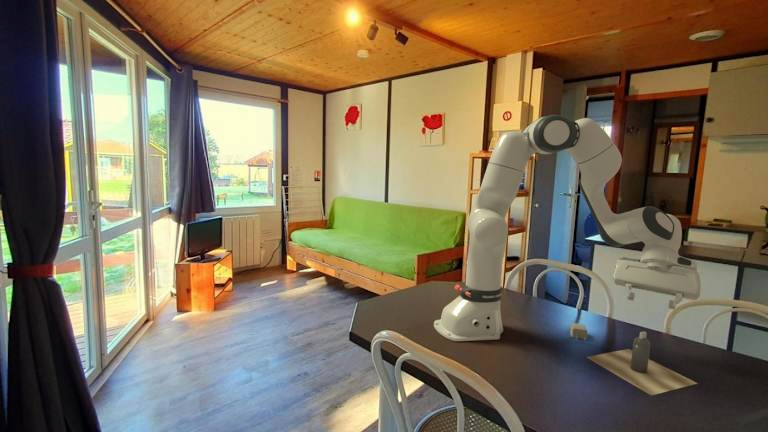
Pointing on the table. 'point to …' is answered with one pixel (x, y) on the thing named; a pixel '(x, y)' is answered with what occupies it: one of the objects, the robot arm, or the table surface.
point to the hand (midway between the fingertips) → (650, 303)
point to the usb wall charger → (578, 331)
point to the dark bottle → (640, 353)
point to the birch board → (649, 382)
